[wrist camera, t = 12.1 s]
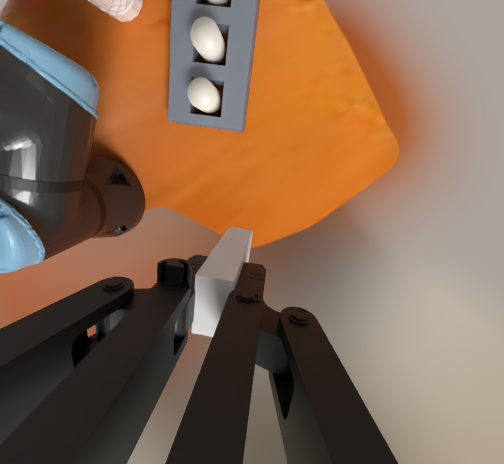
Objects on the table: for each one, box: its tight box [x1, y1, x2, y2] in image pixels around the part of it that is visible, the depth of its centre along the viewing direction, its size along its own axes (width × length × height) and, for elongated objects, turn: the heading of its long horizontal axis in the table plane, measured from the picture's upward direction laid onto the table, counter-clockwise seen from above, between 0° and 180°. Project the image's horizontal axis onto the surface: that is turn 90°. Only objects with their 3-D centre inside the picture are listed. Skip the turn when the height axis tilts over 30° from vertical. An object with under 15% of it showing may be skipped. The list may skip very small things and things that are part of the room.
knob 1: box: [187, 77, 222, 114], centre depth 37 cm, size 4×4×5 cm
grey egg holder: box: [168, 0, 260, 132], centre depth 35 cm, size 12×22×6 cm, turn 172°
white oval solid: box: [190, 17, 227, 65], centre depth 35 cm, size 4×4×5 cm
